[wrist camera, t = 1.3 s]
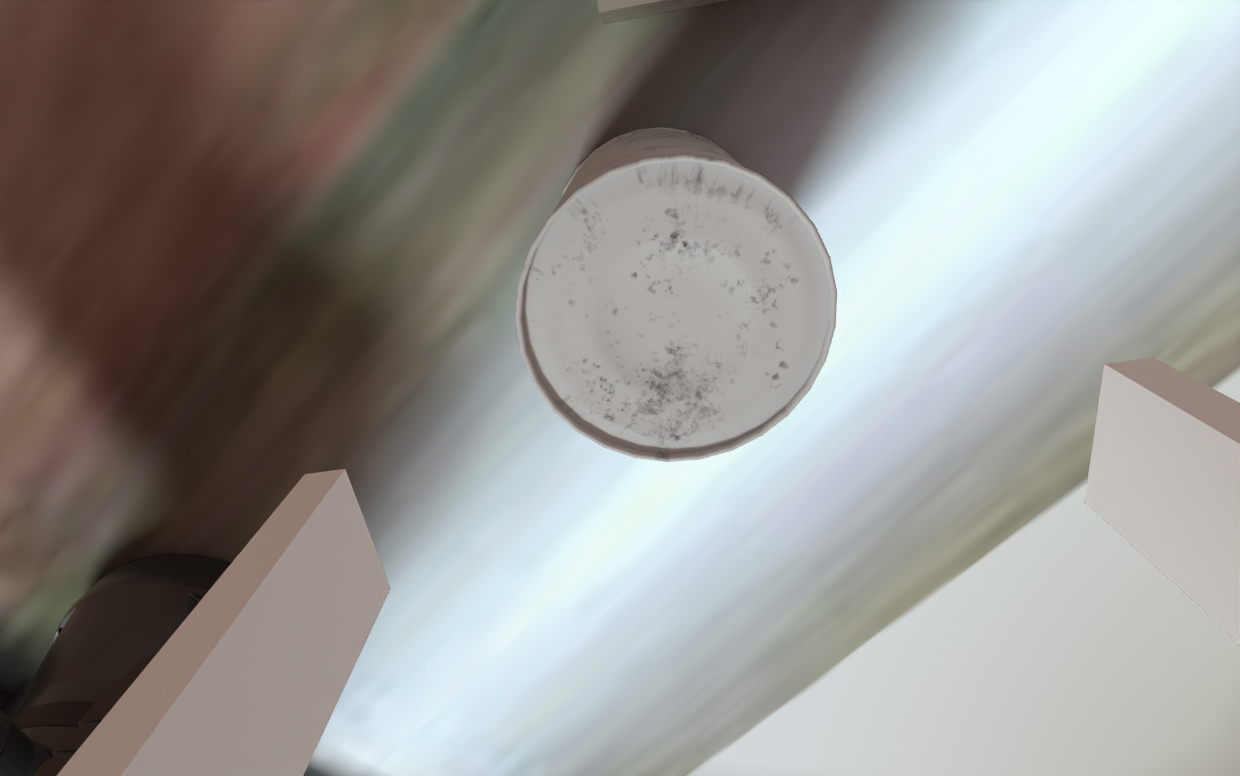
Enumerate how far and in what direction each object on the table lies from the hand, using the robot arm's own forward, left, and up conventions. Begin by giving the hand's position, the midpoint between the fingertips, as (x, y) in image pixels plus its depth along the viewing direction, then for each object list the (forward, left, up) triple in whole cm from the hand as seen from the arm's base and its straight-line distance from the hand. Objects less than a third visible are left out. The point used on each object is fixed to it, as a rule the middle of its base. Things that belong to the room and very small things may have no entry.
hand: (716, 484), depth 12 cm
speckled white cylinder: (0, 0, -21) cm, 21 cm away
